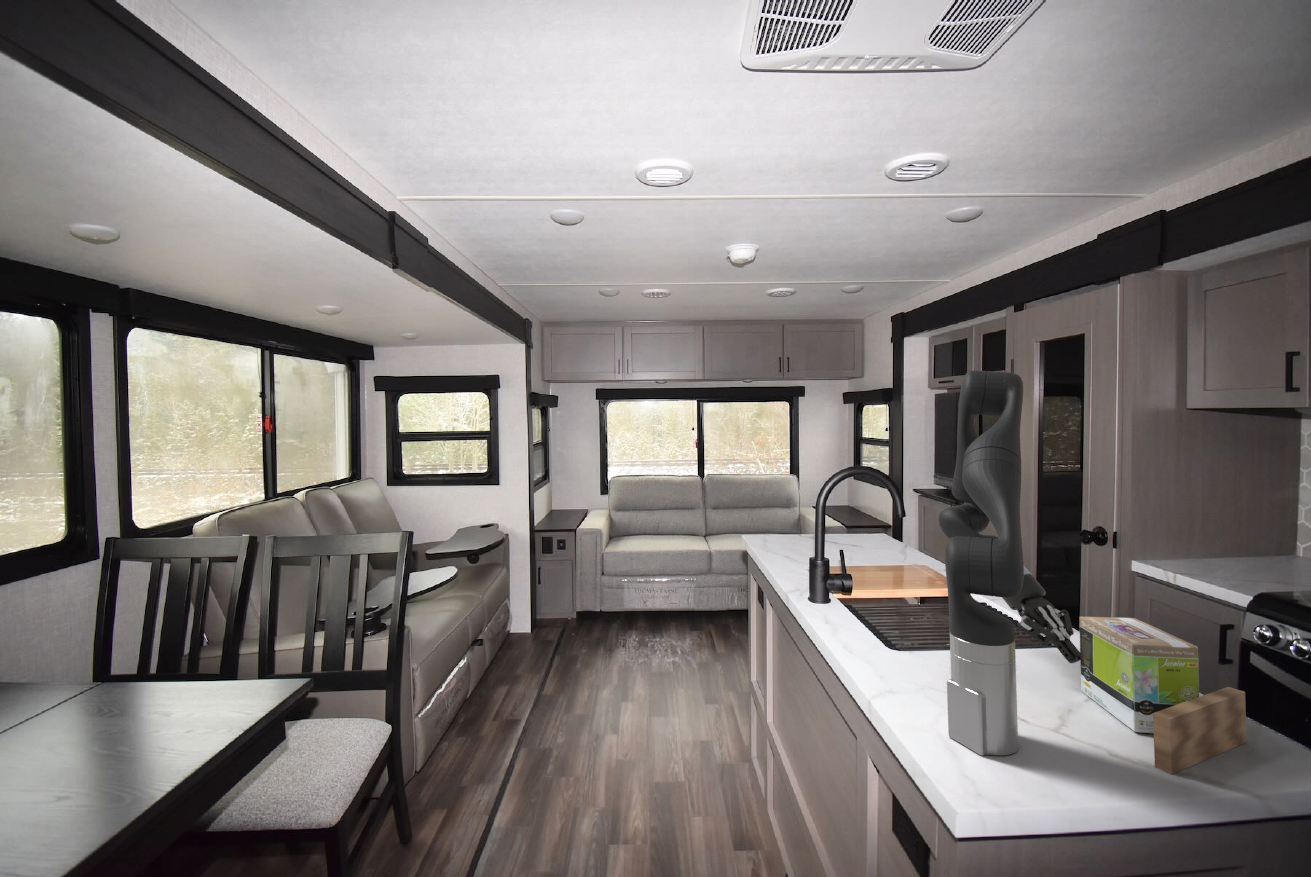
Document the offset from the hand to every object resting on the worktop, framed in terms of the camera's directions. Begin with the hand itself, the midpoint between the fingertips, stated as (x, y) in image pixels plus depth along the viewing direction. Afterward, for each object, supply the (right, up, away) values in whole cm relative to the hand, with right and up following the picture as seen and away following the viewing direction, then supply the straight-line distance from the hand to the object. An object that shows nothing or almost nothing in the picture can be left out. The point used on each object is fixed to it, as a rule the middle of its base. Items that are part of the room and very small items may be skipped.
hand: (1077, 660), depth 104 cm
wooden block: (+3, -6, -21) cm, 22 cm away
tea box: (+4, -6, -9) cm, 11 cm away
